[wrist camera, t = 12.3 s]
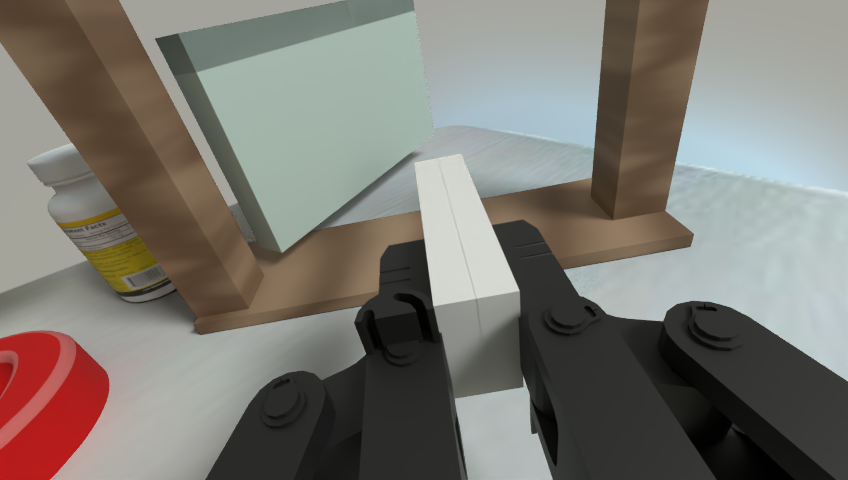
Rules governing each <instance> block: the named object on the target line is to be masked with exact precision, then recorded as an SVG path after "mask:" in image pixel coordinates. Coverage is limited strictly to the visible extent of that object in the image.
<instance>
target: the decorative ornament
mask: <svg viewBox="0 0 848 480" xmlns="http://www.w3.org/2000/svg"><path fill="white" fill-rule="evenodd" d="M108 393H109V378H108V375H107V373H106V371H105V370H104V369H103V368H102V367H101V366H100V365H99V364H98V363H97V362H96V361H95V360H94V359H93V358H92V357H91V356H90V355H89V354H88V353H87V352H86V351H85V350H84V349H83V348H82V347H81V346H80V345H79V344H78V343H77V342H76V341H74V340H73V339H72V338H71V337H70V336H68V335H66V334H63V333H59V332H54V331H31V332H24V333H19V334H15V335H11V336H8V337H4V338H1V339H0V480H50V479H51V478H52V477H53V476H54V475H55V474H56V473H57V472H58V471H59V470H60V468H61V467H62V466H63V465H64V464H65V463H66V462H67V460H68V459H69V458H70V457H71V456H72V455H73V453H74V452H75V451H76V450H77V449H78V448H79V446H80V445H81V444H82V443H83V441H84V440H85V439H86V437H87V436H88V434H89V433H90V431H91V430H92V428H93V427H94V425H95V423H96V422H97V420H98V418H99V416H100V415H101V413H102V411H103V408H104V406H105V403H106V401H107V397H108Z"/></svg>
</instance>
